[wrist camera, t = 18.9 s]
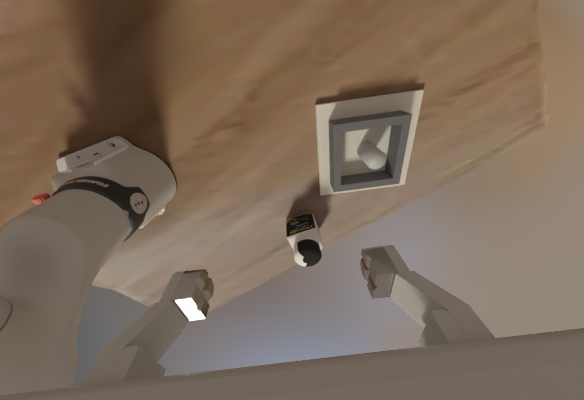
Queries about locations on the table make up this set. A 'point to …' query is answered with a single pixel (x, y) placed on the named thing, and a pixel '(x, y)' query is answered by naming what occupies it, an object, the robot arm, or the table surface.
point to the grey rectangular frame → (394, 155)
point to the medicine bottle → (304, 239)
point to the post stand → (363, 136)
